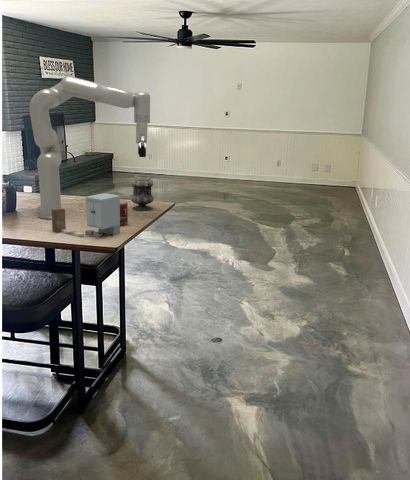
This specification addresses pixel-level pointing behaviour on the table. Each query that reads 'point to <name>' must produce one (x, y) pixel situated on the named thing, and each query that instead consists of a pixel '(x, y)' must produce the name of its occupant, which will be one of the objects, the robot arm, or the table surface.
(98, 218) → the cabinet
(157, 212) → the table surface
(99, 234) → the disc
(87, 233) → the disc
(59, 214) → the brown wooden block
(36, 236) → the table surface
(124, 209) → the canned food
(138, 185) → the apothecary jar
